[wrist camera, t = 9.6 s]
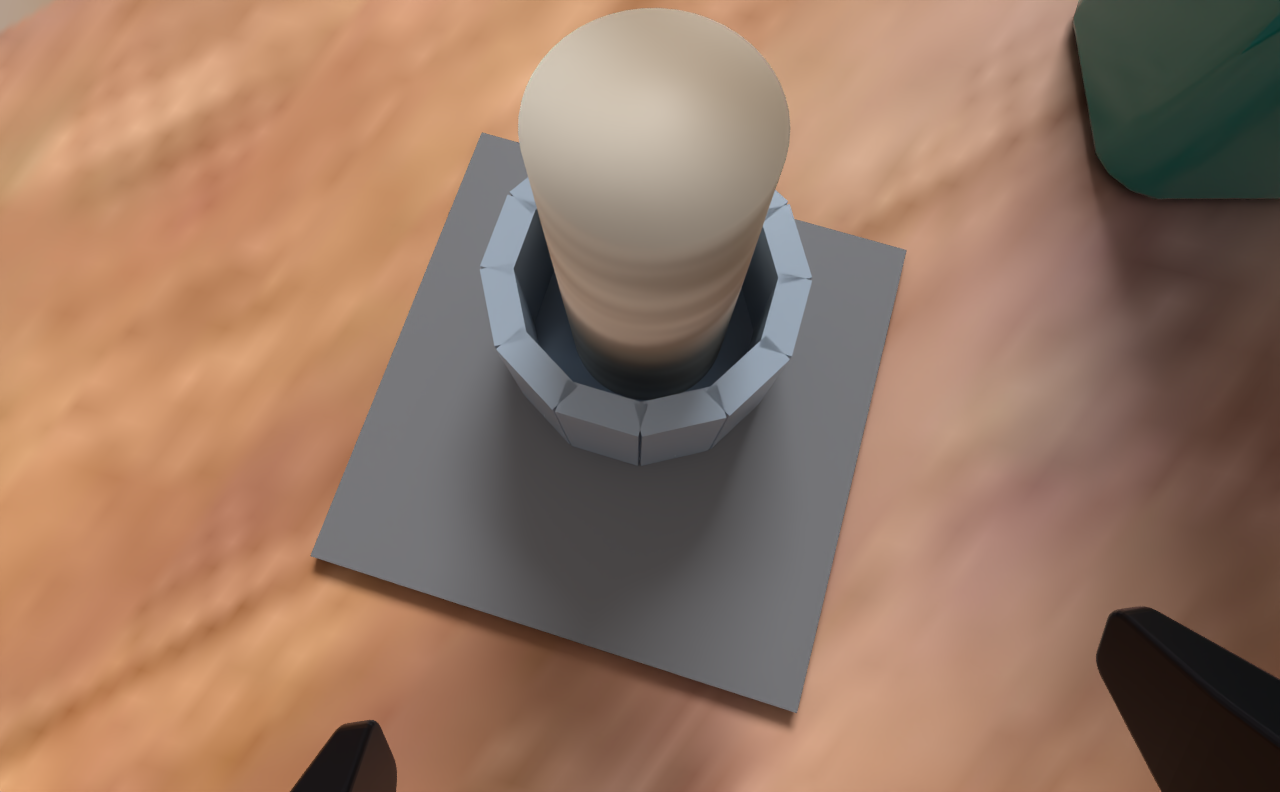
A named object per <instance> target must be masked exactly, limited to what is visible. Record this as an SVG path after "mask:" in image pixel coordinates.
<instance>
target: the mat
mask: <svg viewBox="0 0 1280 792" xmlns="http://www.w3.org/2000/svg"><path fill="white" fill-rule="evenodd" d="M527 177H528V175H527V171H526V168H525V164H524V160H523V157H522V153H521V150H520V143H518V142H514V141H511V140H507V139H504V138H500V137H496V136H493V135H489V134H486V133H481V136H480V138H479V141H478V143H477V146H476V148H475V151H474V153H473V156H472V158H471V161H470V163H469V166H468V168H467V171H466V173H465V175H464V178H463V180H462V183H461V185H460V188H459V190H458V193H457V195H456V198H455V200H454V203H453V205H452V208H451V210H450V212H449V215H448V217H447V220H446V222H445V225H444V227H443V230H442V232H441V235H440V237H439V240H438V242H437V245H436V247H435V250H434V252H433V254H432V257H431V259H430V262H429V264H428V267H427V269H426V272H425V274H424V277H423V279H422V282H421V284H420V287H419V289H418V292H417V294H416V296H415V299H414V301H413V304H412V306H411V309H410V311H409V314H408V316H407V319H406V321H405V324H404V326H403V329H402V331H401V334H400V336H399V338H398V341H397V343H396V346H395V348H394V351H393V353H392V356H391V358H390V361H389V363H388V366H387V368H386V371H385V373H384V375H383V378H382V380H381V383H380V385H379V388H378V390H377V393H376V395H375V398H374V400H373V403H372V405H371V408H370V410H369V413H368V415H367V417H366V420H365V422H364V425H363V427H362V430H361V432H360V435H359V437H358V440H357V442H356V445H355V447H354V450H353V452H352V455H351V457H350V459H349V462H348V464H347V467H346V469H345V472H344V474H343V477H342V479H341V482H340V484H339V487H338V489H337V492H336V494H335V497H334V499H333V501H332V504H331V506H330V509H329V511H328V514H327V516H326V519H325V521H324V524H323V526H322V529H321V531H320V534H319V536H318V538H317V541H316V543H315V546H314V548H313V551H312V553H311V556H312V557H315V558H318V559H321V560H324V561H327V562H330V563H333V564H337V565H340V566H343V567H346V568H349V569H352V570H355V571H358V572H361V573H364V574H367V575H371V576H374V577H377V578H380V579H383V580H386V581H389V582H392V583H395V584H398V585H402V586H405V587H408V588H411V589H414V590H417V591H420V592H423V593H426V594H429V595H432V596H436V597H439V598H442V599H445V600H448V601H451V602H454V603H457V604H460V605H463V606H467V607H470V608H473V609H476V610H479V611H482V612H485V613H488V614H491V615H494V616H498V617H501V618H504V619H507V620H510V621H513V622H516V623H519V624H522V625H525V626H528V627H532V628H535V629H538V630H541V631H544V632H547V633H550V634H553V635H556V636H559V637H563V638H566V639H569V640H572V641H575V642H578V643H581V644H584V645H587V646H590V647H593V648H597V649H600V650H603V651H606V652H609V653H612V654H615V655H618V656H621V657H624V658H628V659H631V660H634V661H637V662H640V663H643V664H646V665H649V666H652V667H655V668H658V669H662V670H665V671H668V672H671V673H674V674H677V675H680V676H683V677H686V678H689V679H693V680H696V681H699V682H702V683H705V684H708V685H711V686H714V687H717V688H720V689H724V690H727V691H730V692H733V693H736V694H739V695H742V696H745V697H748V698H751V699H754V700H758V701H761V702H764V703H767V704H770V705H773V706H776V707H779V708H782V709H785V710H789V711H792V712H795V713H797V711H798V706H799V702H800V698H801V694H802V689H803V685H804V681H805V677H806V673H807V668H808V664H809V660H810V656H811V651H812V647H813V643H814V639H815V634H816V630H817V626H818V622H819V618H820V613H821V609H822V605H823V601H824V596H825V592H826V588H827V584H828V580H829V575H830V571H831V567H832V563H833V558H834V554H835V550H836V546H837V542H838V537H839V533H840V529H841V525H842V520H843V516H844V512H845V508H846V504H847V499H848V495H849V491H850V487H851V482H852V478H853V474H854V470H855V466H856V461H857V457H858V453H859V449H860V444H861V440H862V436H863V432H864V428H865V423H866V419H867V415H868V411H869V406H870V402H871V398H872V394H873V390H874V385H875V381H876V377H877V373H878V368H879V364H880V360H881V356H882V352H883V347H884V343H885V339H886V335H887V330H888V326H889V322H890V318H891V314H892V309H893V305H894V301H895V297H896V292H897V288H898V284H899V280H900V276H901V271H902V267H903V263H904V259H905V254H906V250H904V249H901V248H897V247H893V246H890V245H886V244H882V243H879V242H875V241H872V240H868V239H864V238H861V237H857V236H854V235H850V234H846V233H843V232H839V231H836V230H832V229H828V228H825V227H821V226H818V225H814V224H810V223H807V222H803V221H799V220H796V219H794V220H795V223H796V227H797V230H798V233H799V236H800V240H801V243H802V246H803V249H804V253H805V256H806V259H807V262H808V266H809V269H810V272H811V275H812V278H811V280H812V283H811V287H810V291H809V294H808V298H807V302H806V306H805V309H804V313H803V317H802V321H801V324H800V328H799V332H798V336H797V339H796V343H795V347H794V351H793V354H792V357H791V358H790V360H789V362H788V363H787V365H786V366H785V367H784V369H783V370H782V372H781V373H780V375H779V376H778V377H777V379H776V380H775V382H774V383H773V385H772V386H771V388H770V389H769V390H768V392H767V393H766V395H765V396H764V398H763V399H762V400H761V402H760V403H759V404H758V405H757V406H756V407H755V408H754V409H753V410H752V411H751V412H750V413H749V414H748V415H747V416H746V417H745V418H743V419H742V420H741V421H740V422H739V423H738V424H737V425H736V426H735V427H734V428H733V429H732V430H731V431H730V432H729V433H728V434H726V435H725V436H724V437H723V438H722V439H721V440H720V441H719V442H718V443H717V444H716V445H715V446H714V447H713V448H712V449H710V448H709V450H708V451H705V452H700V453H696V454H692V455H687V456H683V457H678V458H674V459H670V460H665V461H661V462H657V463H652V464H648V465H643V466H641V465H640V462H639V464H638V466H636V465H633V464H629V463H626V462H623V461H620V460H616V459H613V458H610V457H606V456H603V455H600V454H597V453H593V452H590V451H587V450H584V449H580V448H577V447H574V446H572V445H571V443H570V444H569V443H568V442H567V441H566V440H565V439H564V438H563V437H562V436H561V435H560V434H559V433H558V431H557V430H556V429H555V428H554V427H553V426H552V425H551V424H550V423H549V422H548V421H547V420H546V418H545V417H544V416H543V415H542V414H541V413H540V412H539V411H538V410H537V409H536V408H535V407H534V405H533V404H532V403H531V402H530V401H529V400H528V399H527V398H526V397H525V396H524V394H523V393H522V391H521V389H520V388H519V386H518V384H517V383H516V381H515V379H514V378H513V376H512V375H511V373H510V371H509V370H508V368H507V366H506V365H505V363H504V361H503V360H502V358H501V356H500V355H499V353H498V352H497V350H496V348H495V346H494V341H493V336H492V331H491V326H490V320H489V315H488V310H487V305H486V299H485V294H484V289H483V284H482V279H481V273H480V269H481V267H480V265H481V262H482V259H483V257H484V254H485V252H486V249H487V246H488V244H489V241H490V239H491V236H492V233H493V231H494V228H495V226H496V223H497V221H498V218H499V215H500V213H501V210H502V208H503V205H504V202H505V200H506V197H507V195H510V191H511V190H513V189H514V188H515V187H516V186H518V185H519V184H520V183H521V182H522V181H524V180H525V179H526V178H527Z"/></svg>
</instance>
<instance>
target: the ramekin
mask: <svg viewBox="0 0 1280 792" xmlns="http://www.w3.org/2000/svg"><path fill="white" fill-rule="evenodd" d="M787 202H788V201H787V200H786V199H785V198H784V197H783V196H781V195H780V194H779V193H778V192H777V191H776V190H775V192H774V195H773V198H772V201H771V204H770V206H769V209H768V212H767V215H766V218H765V221H764V224H763V227H762V230H761V233H760V235H759V238H758V241H757V244H756V247H755V250H754V253H753V256H752V259H751V262H750V264H749V267H748V270H747V273H746V276H745V279H744V282H743V285H742V288H741V291H740V293H739V296H738V299H737V302H736V305H735V308H734V311H733V314H732V317H731V319H730V322H729V325H728V328H727V331H726V334H725V337H724V340H723V343H722V346H721V348H720V351H719V354H718V356H717V359H716V360H715V362H714V364H713V366H712V367H711V369H710V370H709V371H708V373H707V374H706V375H705V376H704V377H703V378H702V379H701V380H700V381H699V382H698V383H696V384H695V385H694V386H692V387H691V388H689V389H688V390H686V391H684V392H682V393H679V394H675V395H671V396H666V397H662V398H657V399H653V400H640V399H633V398H629V397H625V396H622V395H620V394H617V393H615V392H613V391H611V390H609V389H607V388H606V387H604V386H603V385H602V384H600V383H599V382H598V381H597V380H596V379H595V378H594V377H593V376H592V375H591V374H590V373H589V372H588V370H587V369H586V368H585V366H584V364H583V363H582V361H581V359H580V357H579V355H578V352H577V349H576V346H575V342H574V339H573V335H572V331H571V328H570V324H569V321H568V317H567V314H566V310H565V307H564V303H563V299H562V296H561V292H560V289H559V285H558V282H557V278H556V274H555V271H554V267H553V264H552V260H551V257H550V253H549V250H548V246H547V242H546V239H545V235H544V232H543V228H542V225H541V221H540V217H539V214H538V210H537V207H536V203H535V200H534V196H533V193H532V189H531V185H530V182H529V178H528V177H527V178H526V179H525V180H524V181H522V182H521V183H520V184H519V185H518V186H516V187H515V188H514V189H513V190H511V191H510V195H507V197H506V200H505V202H504V205H503V208H502V210H501V213H500V215H499V218H498V221H497V223H496V226H495V228H494V231H493V233H492V236H491V239H490V241H489V244H488V246H487V249H486V252H485V254H484V257H483V259H482V262H481V265H480V267H481V269H480V273H481V279H482V284H483V289H484V294H485V299H486V305H487V310H488V315H489V320H490V326H491V331H492V336H493V341H494V346H495V348H496V350H497V352H498V353H499V355H500V356H501V358H502V360H503V361H504V363H505V365H506V366H507V368H508V370H509V371H510V373H511V375H512V376H513V378H514V379H515V381H516V383H517V384H518V386H519V388H520V389H521V391H522V393H523V394H524V396H525V397H526V398H527V399H528V400H529V401H530V402H531V403H532V404H533V405H534V407H535V408H536V409H537V410H538V411H539V412H540V413H541V414H542V415H543V416H544V417H545V418H546V420H547V421H548V422H549V423H550V424H551V425H552V426H553V427H554V428H555V429H556V430H557V431H558V433H559V434H560V435H561V436H562V437H563V438H564V439H565V440H566V441H567V442H568V443H569V444H570V443H571V445H572V446H574V447H577V448H580V449H584V450H587V451H590V452H593V453H597V454H600V455H603V456H606V457H610V458H613V459H616V460H620V461H623V462H626V463H629V464H633V465H636V466H638V464H639V462H640V465H641V466H643V465H648V464H652V463H657V462H661V461H665V460H670V459H674V458H678V457H683V456H687V455H692V454H696V453H700V452H705V451H708V450H709V448H710V449H712V448H713V447H714V446H715V445H716V444H717V443H718V442H719V441H720V440H721V439H722V438H723V437H724V436H725V435H726V434H728V433H729V432H730V431H731V430H732V429H733V428H734V427H735V426H736V425H737V424H738V423H739V422H740V421H741V420H742V419H743V418H745V417H746V416H747V415H748V414H749V413H750V412H751V411H752V410H753V409H754V408H755V407H756V406H757V405H758V404H759V403H760V402H761V400H762V399H763V398H764V396H765V395H766V393H767V392H768V390H769V389H770V388H771V386H772V385H773V383H774V382H775V380H776V379H777V377H778V376H779V375H780V373H781V372H782V370H783V369H784V367H785V366H786V365H787V363H788V362H789V360H790V358H791V357H792V354H793V351H794V347H795V343H796V339H797V336H798V332H799V328H800V324H801V321H802V317H803V313H804V309H805V306H806V302H807V298H808V294H809V291H810V287H811V283H812V280H811V278H812V275H811V272H810V269H809V266H808V262H807V259H806V256H805V253H804V249H803V246H802V243H801V240H800V236H799V233H798V230H797V227H796V223H795V220H794V217H793V214H792V210H791V207H790V204H788V205H787Z"/></svg>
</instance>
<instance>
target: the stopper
mask: <svg viewBox="0 0 1280 792" xmlns="http://www.w3.org/2000/svg"><path fill="white" fill-rule="evenodd" d="M518 135H519V143H520V150H521V153H522V157H523V160H524V164H525V168H526V171H527V175H528V178H529V182H530V185H531V189H532V193H533V196H534V200H535V203H536V207H537V210H538V214H539V217H540V221H541V225H542V228H543V232H544V235H545V239H546V242H547V246H548V250H549V253H550V257H551V260H552V264H553V267H554V271H555V274H556V278H557V282H558V285H559V289H560V292H561V296H562V299H563V303H564V307H565V310H566V314H567V317H568V321H569V324H570V328H571V331H572V335H573V339H574V342H575V346H576V349H577V352H578V355H579V357H580V359H581V361H582V363H583V364H584V366H585V368H586V369H587V370H588V372H589V373H590V374H591V375H592V376H593V377H594V378H595V379H596V380H597V381H598V382H599V383H600V384H602V385H603V386H604V387H606V388H607V389H609V390H611V391H613V392H615V393H617V394H620V395H622V396H625V397H629V398H633V399H640V400H653V399H657V398H662V397H666V396H671V395H675V394H679V393H682V392H684V391H686V390H688V389H689V388H691V387H692V386H694V385H695V384H696V383H698V382H699V381H700V380H701V379H702V378H703V377H704V376H705V375H706V374H707V373H708V371H709V370H710V369H711V367H712V366H713V364H714V362H715V360H716V359H717V356H718V354H719V351H720V348H721V346H722V343H723V340H724V337H725V334H726V331H727V328H728V325H729V322H730V319H731V317H732V314H733V311H734V308H735V305H736V302H737V299H738V296H739V293H740V291H741V288H742V285H743V282H744V279H745V276H746V273H747V270H748V267H749V264H750V262H751V259H752V256H753V253H754V250H755V247H756V244H757V241H758V238H759V235H760V233H761V230H762V227H763V224H764V221H765V218H766V215H767V212H768V209H769V206H770V204H771V201H772V198H773V195H774V192H775V189H776V186H777V183H778V180H779V177H780V175H781V172H782V169H783V166H784V163H785V160H786V156H787V151H788V147H789V139H790V118H789V110H788V106H787V101H786V97H785V94H784V92H783V89H782V87H781V84H780V82H779V80H778V78H777V76H776V75H775V73H774V71H773V69H772V68H771V66H770V65H769V64H768V62H767V61H766V60H765V58H764V57H763V56H762V55H761V54H760V53H759V52H758V51H757V50H756V49H755V48H754V46H753V45H752V44H750V43H749V42H748V41H747V40H745V39H744V38H743V37H742V36H740V35H739V34H738V33H736V32H734V31H733V30H731V29H729V28H728V27H726V26H725V25H722V24H720V23H718V22H716V21H714V20H712V19H709V18H707V17H703V16H700V15H697V14H694V13H690V12H685V11H681V10H675V9H664V8H641V9H634V10H626V11H622V12H618V13H613V14H609V15H607V16H604V17H601V18H599V19H596V20H593V21H591V22H589V23H587V24H585V25H583V26H581V27H579V28H578V29H576V30H575V31H573V32H572V33H570V34H569V35H567V36H566V37H564V38H563V39H562V40H561V41H560V42H559V43H558V44H556V45H555V46H554V47H553V48H552V49H551V50H550V51H549V52H548V54H547V55H546V56H545V57H544V58H543V59H542V60H541V62H540V63H539V65H538V66H537V68H536V69H535V71H534V72H533V74H532V76H531V78H530V80H529V82H528V84H527V86H526V89H525V92H524V95H523V98H522V101H521V106H520V112H519V122H518Z"/></svg>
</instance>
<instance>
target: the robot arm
mask: <svg viewBox="0 0 1280 792" xmlns="http://www.w3.org/2000/svg"><path fill="white" fill-rule="evenodd" d="M1096 662H1097V667H1098V670H1099V673H1100V675H1101V677H1102V679H1103V681H1104V683H1105V685H1106V687H1107V689H1108V691H1109V693H1110V695H1111V697H1112V698H1113V700H1114V702H1115V704H1116V706H1117V708H1118V710H1119V712H1120V714H1121V716H1122V718H1123V720H1124V722H1125V723H1126V725H1127V727H1128V729H1129V731H1130V733H1131V735H1132V737H1133V739H1134V741H1135V743H1136V745H1137V747H1138V748H1139V750H1140V752H1141V754H1142V756H1143V758H1144V760H1145V762H1146V764H1147V766H1148V768H1149V770H1150V772H1151V773H1152V775H1153V777H1154V779H1155V781H1156V783H1157V784H1158V786H1159V788H1160V790H1161V792H1280V679H1278V678H1277V677H1275V676H1273V675H1271V674H1269V673H1268V672H1266V671H1264V670H1262V669H1260V668H1259V667H1257V666H1255V665H1253V664H1251V663H1250V662H1248V661H1246V660H1244V659H1242V658H1241V657H1239V656H1237V655H1235V654H1233V653H1232V652H1230V651H1228V650H1226V649H1224V648H1223V647H1221V646H1219V645H1217V644H1216V643H1214V642H1212V641H1210V640H1208V639H1207V638H1205V637H1203V636H1201V635H1199V634H1198V633H1196V632H1194V631H1192V630H1190V629H1189V628H1187V627H1185V626H1183V625H1181V624H1180V623H1178V622H1176V621H1174V620H1172V619H1171V618H1169V617H1167V616H1165V615H1164V614H1162V613H1160V612H1158V611H1156V610H1154V609H1152V608H1149V607H1132V608H1126V609H1119V610H1115V611H1113V612H1112V613H1111V614H1110V615H1109V617H1108V619H1107V622H1106V625H1105V628H1104V631H1103V634H1102V638H1101V641H1100V644H1099V647H1098V650H1097V654H1096ZM396 785H397V769H396V763H395V760H394V757H393V755H392V752H391V750H390V748H389V745H388V743H387V741H386V738H385V736H384V734H383V732H382V729H381V727H380V725H379V724H378V723H377V722H376V721H374V720H366V721H359V722H353V723H347V724H344V725H342V726H340V727H339V728H338V729H337V730H336V731H335V732H334V733H333V735H332V736H331V737H330V739H329V740H328V741H327V743H326V744H325V745H324V747H323V748H322V749H321V751H320V752H319V753H318V755H317V756H316V757H315V759H314V760H313V761H312V763H311V764H310V765H309V767H308V768H307V769H306V771H305V772H304V773H303V775H302V776H301V778H300V779H299V780H298V782H297V783H296V784H295V786H294V787H293V788H292V790H291V791H290V792H396Z"/></svg>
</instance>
